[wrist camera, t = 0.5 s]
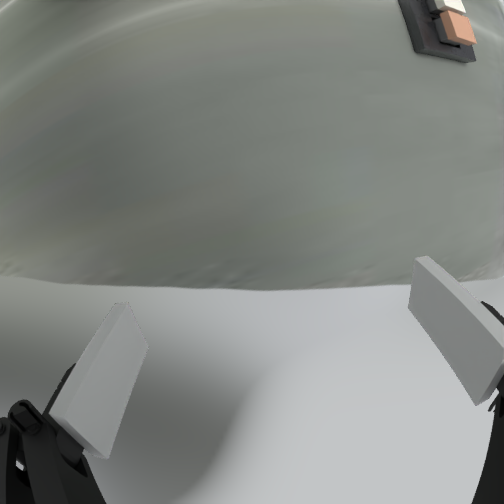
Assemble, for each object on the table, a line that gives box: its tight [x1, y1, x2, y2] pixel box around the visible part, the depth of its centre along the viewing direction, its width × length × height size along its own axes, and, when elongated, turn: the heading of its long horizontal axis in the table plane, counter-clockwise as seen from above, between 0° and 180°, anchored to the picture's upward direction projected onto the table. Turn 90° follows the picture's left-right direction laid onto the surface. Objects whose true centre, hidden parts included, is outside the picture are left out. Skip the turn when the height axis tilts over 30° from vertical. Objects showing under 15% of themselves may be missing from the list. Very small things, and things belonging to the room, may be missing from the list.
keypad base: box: [398, 0, 476, 63], centre depth 22 cm, size 19×12×3 cm, turn 10°
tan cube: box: [433, 10, 477, 46], centre depth 21 cm, size 5×5×5 cm
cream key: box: [425, 0, 466, 16], centre depth 19 cm, size 5×5×5 cm
